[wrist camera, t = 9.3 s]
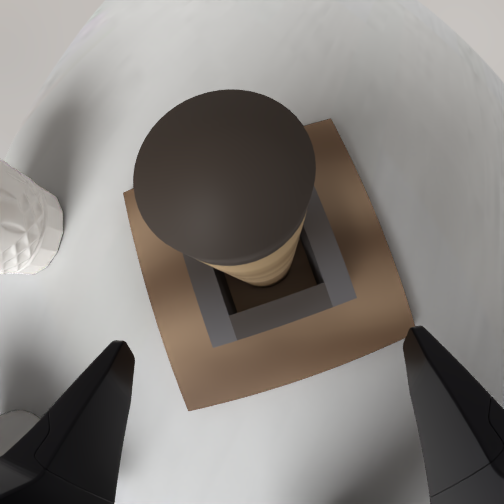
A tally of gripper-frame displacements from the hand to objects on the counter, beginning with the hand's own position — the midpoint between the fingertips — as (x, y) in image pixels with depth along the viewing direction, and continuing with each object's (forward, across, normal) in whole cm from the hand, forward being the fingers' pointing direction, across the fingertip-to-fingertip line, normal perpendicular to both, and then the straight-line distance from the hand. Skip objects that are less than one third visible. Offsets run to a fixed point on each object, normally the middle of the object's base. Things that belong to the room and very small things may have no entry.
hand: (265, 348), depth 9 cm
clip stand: (+9, 0, +4) cm, 10 cm away
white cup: (+11, +18, +2) cm, 21 cm away
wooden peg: (+8, 0, +3) cm, 9 cm away
